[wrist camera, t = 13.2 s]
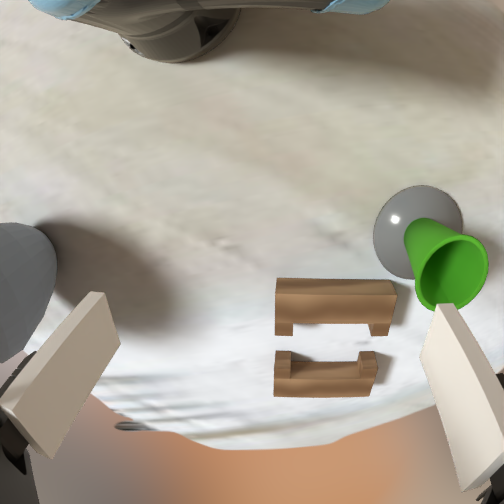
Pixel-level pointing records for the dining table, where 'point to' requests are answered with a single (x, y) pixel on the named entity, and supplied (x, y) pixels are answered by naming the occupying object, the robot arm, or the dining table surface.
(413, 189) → the coaster
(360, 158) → the dining table surface
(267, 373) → the dining table surface
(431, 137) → the dining table surface
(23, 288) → the vase
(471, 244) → the cup
